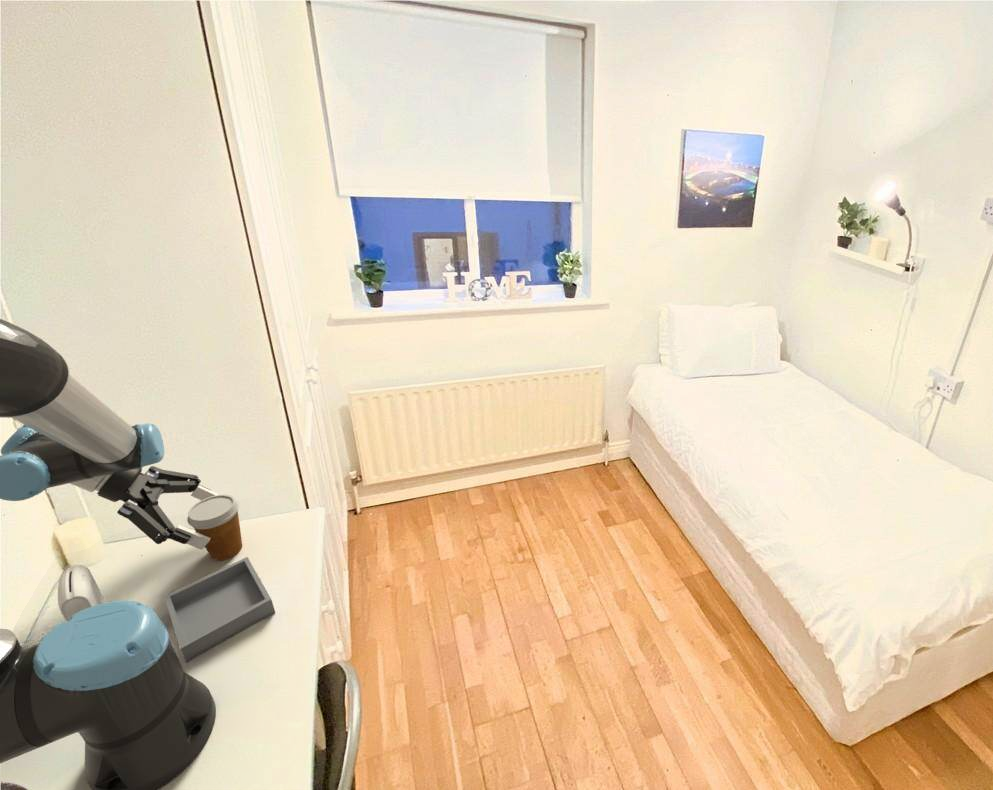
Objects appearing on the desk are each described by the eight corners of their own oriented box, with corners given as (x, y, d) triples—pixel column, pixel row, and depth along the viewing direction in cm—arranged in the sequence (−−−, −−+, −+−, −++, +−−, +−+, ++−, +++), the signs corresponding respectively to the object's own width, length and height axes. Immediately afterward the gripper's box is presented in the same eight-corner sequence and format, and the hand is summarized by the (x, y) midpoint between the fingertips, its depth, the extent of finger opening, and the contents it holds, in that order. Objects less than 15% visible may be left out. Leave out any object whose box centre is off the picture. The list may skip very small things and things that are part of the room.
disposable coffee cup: (213, 537, 104) (198, 494, 99) (256, 533, 105) (244, 491, 100) (193, 568, 96) (176, 524, 91) (240, 564, 97) (225, 520, 92)
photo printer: (81, 615, 86) (54, 566, 80) (110, 603, 88) (85, 555, 83) (81, 654, 78) (50, 603, 73) (112, 640, 81) (85, 590, 76)
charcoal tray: (275, 612, 86) (271, 599, 84) (186, 662, 77) (180, 648, 75) (251, 569, 95) (247, 556, 94) (169, 609, 87) (164, 596, 85)
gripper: (125, 456, 99) (219, 499, 110) (62, 532, 78) (186, 577, 88) (145, 432, 99) (238, 477, 109) (87, 501, 77) (209, 551, 87)
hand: (215, 522), depth 98 cm, fingers open, 13 cm apart
